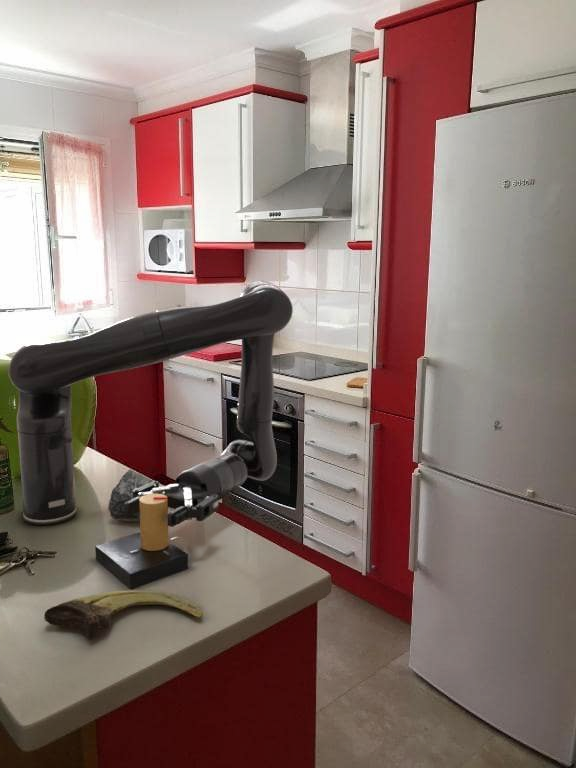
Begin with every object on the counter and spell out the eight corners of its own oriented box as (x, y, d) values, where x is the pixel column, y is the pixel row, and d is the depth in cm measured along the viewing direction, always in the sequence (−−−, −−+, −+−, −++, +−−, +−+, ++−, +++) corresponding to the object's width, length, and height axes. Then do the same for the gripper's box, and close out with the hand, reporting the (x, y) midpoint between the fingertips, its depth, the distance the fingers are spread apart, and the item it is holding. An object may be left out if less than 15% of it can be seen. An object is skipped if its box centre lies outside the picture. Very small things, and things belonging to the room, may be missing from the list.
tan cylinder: (138, 551, 100) (137, 502, 99) (143, 539, 105) (141, 491, 103) (166, 551, 101) (165, 502, 99) (170, 538, 105) (169, 491, 103)
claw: (49, 652, 79) (48, 628, 78) (46, 611, 88) (45, 588, 87) (203, 623, 86) (203, 600, 85) (185, 587, 95) (185, 566, 95)
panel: (95, 559, 103) (95, 544, 102) (159, 539, 110) (159, 525, 110) (130, 589, 94) (130, 573, 93) (197, 565, 101) (197, 549, 101)
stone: (116, 460, 120) (145, 472, 113) (152, 482, 127) (181, 495, 120) (88, 505, 117) (116, 520, 110) (126, 525, 124) (155, 541, 117)
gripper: (173, 458, 117) (112, 484, 102) (239, 471, 110) (184, 501, 96) (173, 496, 118) (113, 527, 104) (238, 511, 112) (184, 547, 98)
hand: (147, 515), depth 100 cm, fingers open, 8 cm apart
